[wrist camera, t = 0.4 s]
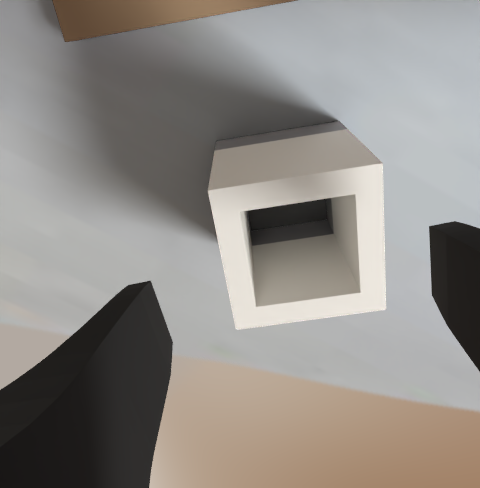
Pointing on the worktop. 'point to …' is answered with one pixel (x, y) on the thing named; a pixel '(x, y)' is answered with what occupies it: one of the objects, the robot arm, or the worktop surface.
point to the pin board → (138, 14)
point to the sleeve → (300, 225)
